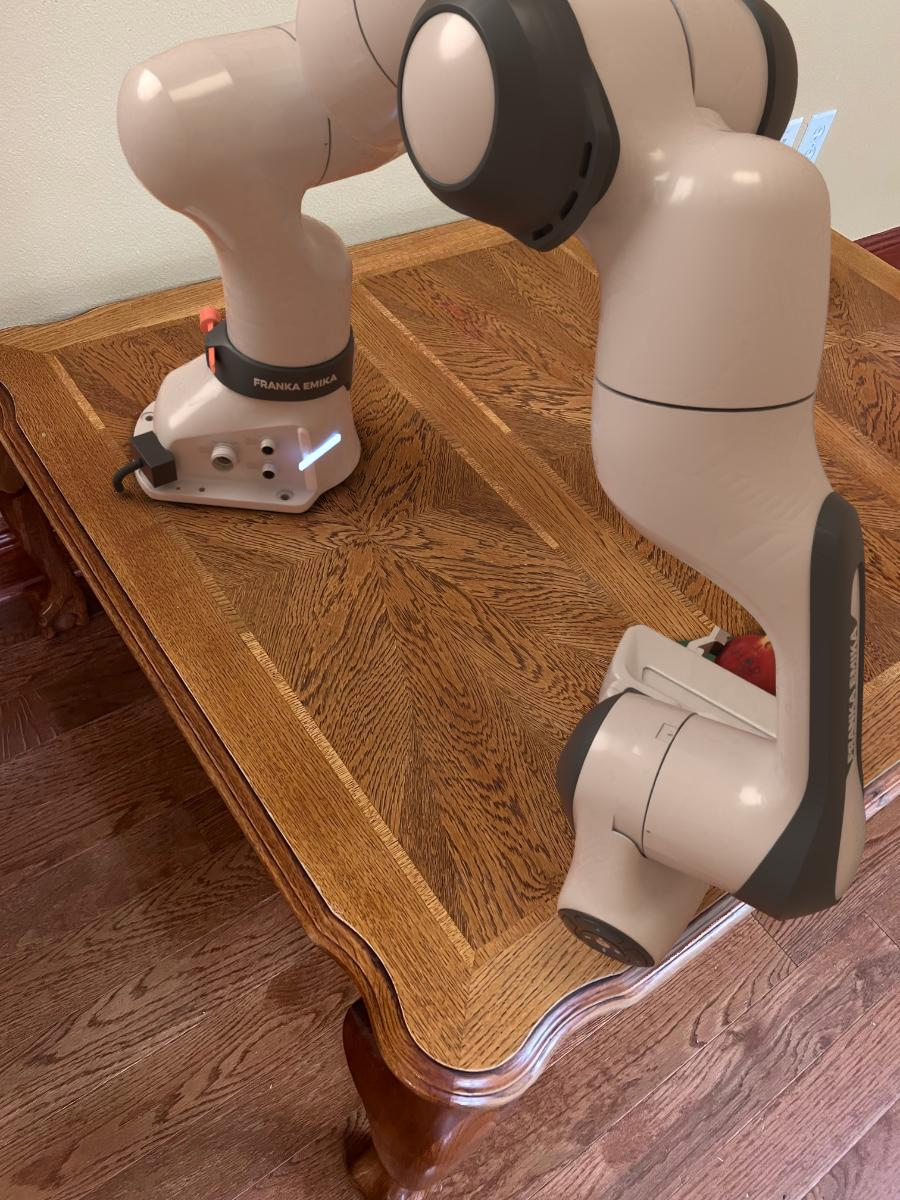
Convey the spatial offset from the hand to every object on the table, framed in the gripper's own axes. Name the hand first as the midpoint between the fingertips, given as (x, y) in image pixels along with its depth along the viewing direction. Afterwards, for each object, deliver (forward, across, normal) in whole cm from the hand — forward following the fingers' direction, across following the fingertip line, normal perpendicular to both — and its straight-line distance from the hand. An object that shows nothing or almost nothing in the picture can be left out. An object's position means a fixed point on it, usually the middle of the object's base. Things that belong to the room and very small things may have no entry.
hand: (758, 653), depth 79 cm
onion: (-1, 0, +5) cm, 5 cm away
